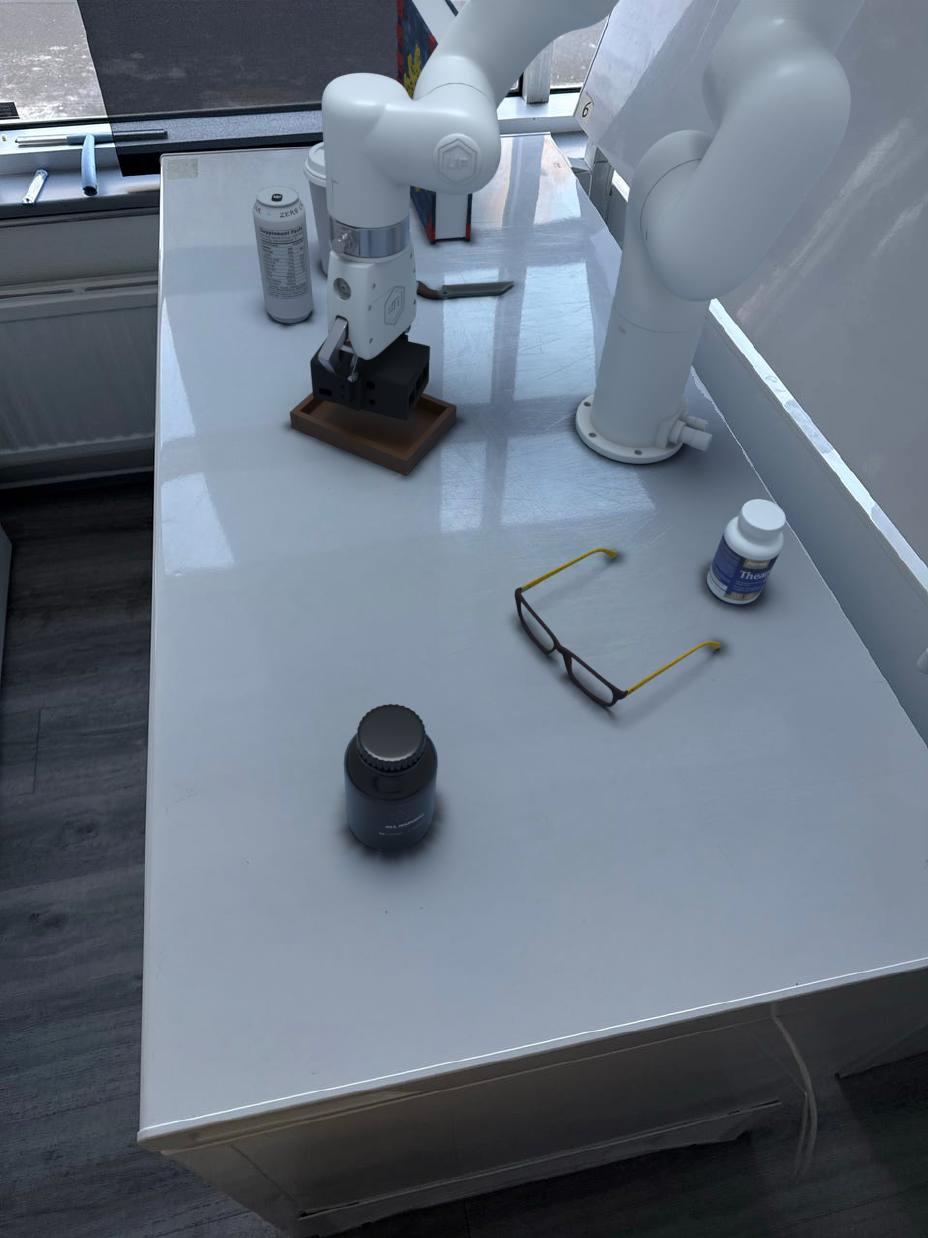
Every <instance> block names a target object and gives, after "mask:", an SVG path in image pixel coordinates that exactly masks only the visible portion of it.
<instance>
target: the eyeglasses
mask: <svg viewBox="0 0 928 1238" xmlns="http://www.w3.org/2000/svg"><path fill="white" fill-rule="evenodd" d="M597 553H604V554H606V555H607V556H609V557H610V558H612V559H613V558H615V557H617V555H618V553H617V551H614V550H612V549H608V548H605V547H597V548H594V549H592V550H590V551H588V552H586V553H584V554H581V555H579V556H578V557H575V558H573V559H572V560H570V561H568V562H566V563H564V564H562V565H560V566H558V567H556V568H554V569H552V570H550V571H548V572H546V573H544V574H542V575H540V576H538V577H536V578H534V579H533V580H531V581H529V582H527V583H525V584H523V585H521V586H519V587H517V588H516V589H515V590H514V599H515V605H516V611H517V616H518V619H519V621H520V623H521V624H522V626H523V628H524V629H525V631H526V633H527V634H528V636H529V638H530V639H531V640H532V641H533V642H534V643H535V644H536V646H537V647H538V648H539V649H540V650H541V651H542V652H543V653H545V654H547V655H550V654H551V653H553V652H555V651H556V652H557V653H559V654H561V656H562V659H563V662H564V667H565V669H566V672H567V674H568V676H569V678H570V680H571V681H572V682H573V683H574V684H575V685H576V686H577V687H578V688H579V689H580V690H581V691H582V692H583V693H585V694H586V696H588V697H590V698H591V699H592V700H594V701H595V702H597V703H598V704H600V705H602V706H604V707H606V708H611V707H613V706H615V705H616V704H617V702H618V701H622V700H624V699H626V697H628V696H629V695H632V693H634V692H635V691H637V690H638V689H640V688H641V687H643V686H644V685H646V684H647V683H648V682H650V681H652V680H653V679H655V678H656V677H658V676H659V675H661V674H662V673H664V672H666V671H667V670H668V669H670V668H671V667H673V666H674V665H676V664H677V663H679V662H681V661H682V660H683V659H685V658H687V657H689V656H690V655H691V654H693V653H695V652H696V651H698V650H699V649H701V648H703V647H706V646H710V647H711V648H713V649H715V650H717V649H719V648H721V646H722V643H721V642H719V641H713V640H706V641H704V642H701V643H700V644H698V645H696V646H694V647H693V648H691V649H689V650H687V651H686V652H685V653H683V654H681V655H680V656H678V657H677V658H675V659H673V660H672V661H671V662H669V663H667V664H666V665H664V666H662V667H660V668H659V669H658V670H656V671H654V672H653V673H651V674H649V675H648V676H646V677H644V678H643V679H641V680H640V681H638V682H637V683H635V684H634V685H632V686H631V687H629V688H627V689H626V690H622V689H620V688H618V687H617V686H616V685H614V684H613V683H611V682H610V681H609V680H607V679H606V678H604V677H603V676H602V675H600V673H598V672H597V671H596V670H595V669H593V668H592V667H591V666H590V665H589V664H588V663H587V662H586V661H584V660H583V659H581V658H580V657H579V656H578V655H577V654H575V653H574V652H573V651H571V650H570V649H568V648H566V647H565V646H563V645H562V644H561V643H560V640H558V638H557V636H556V635H555V634H554V633H553V632H552V630H551V628H549V626H548V625H547V624H546V623H545V622H544V621H543V620H542V619H541V618H540V616H539V615H538V614H537V613H536V611H535V610H534V609H533V608H532V607H531V605H530V604H529V603H528V602H527V600H526V599H525V597H524V596H523V593H524V592H526V591H528V590H530V589H531V588H534V587H535V586H537V585H539V584H541V583H542V582H543V581H546V580H547V579H549V578H551V577H553V576H555V575H557V574H558V573H560V572H562V571H563V570H565V569H567V568H569V567H570V566H573V565H574V564H577V563H578V562H580V561H581V560H584V559H586V558H588V557H590V556H591V555H593V554H597ZM522 605H523V606H524V607H525V608H526V610H527V611H528V612H529V613H530V614H531V616H532V618H534V619H535V620H536V621H537V622H538V624H539V625H540V627H542V629H543V630H544V631H545V632H546V633H547V635H548V636H549V637H550V639H551V640H552V644H553V646H552V648H551V649H548V648H547V647H546V646H544V644H542V643H541V642H540V641H539V640H538V639H537V638H536V636H535V635H534V634H533V632H532V631H531V629H530V627H529V625H528V624H527V622H526V620H525V618H524V614H523V611H522ZM573 660H575V661H576V662H577V663H578V664H580V666H582V668H585V670H587V671H588V672H589V673H590V674H591V675H593V676H594V677H595V678H596V679H597V680H599V681H600V682H601V683H602V684H603V685H605V686H606V687H607V688H608V689H609V690H610V692H611V694H612V699H611V702H608V701H606V700H604V699H601V698H600V697H598V696H596V695H595V694H593V693H592V691H590V690H589V689H587V688H586V687H585V686H584V685H583V684H582V683H581V682H580V681H579V680H578V679H577V677H576V676H575V675H574V672H573Z"/></svg>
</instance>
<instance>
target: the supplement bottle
mask: <svg viewBox="0 0 928 1238" xmlns="http://www.w3.org/2000/svg"><path fill="white" fill-rule="evenodd" d="M438 766H439V759H438V752H437V749H436V746H435V744H434V742H433V740H432V738H431V737H430V736H429V735H428V733H427V731H426V725H425V724H424V722H423V719H421V718H420V715H419V714H417V713H416V711H414V710H412V709H411V708H410V707H406V706H405V705H399V704H393V703H389V704H382V705H379V706H378V705H377V706H376V707H374V708H371V709H370V711H367V712H366V713H365V715H364V716H363V717H362V718H361V720H360V721H359V723H358V726H357V728H356V733H355V734H354V735H353V736H352V737H351V738H350V740H349V742H348V744H347V745H346V748H345V751H344V755H343V776H344V777H343V778H344V792H345V810H346V817H347V821H348V824H349V827H350V829H351V831H352V833H353V834H354V835H355V837H356V838H357V839H358V840H359V841H361V842H362V843H363V844H365V845H366V846H368V847H370V848H373V849H375V850H379V851H387V852H391V851H393V852H394V851H399V850H403V849H406V848H408V847H411V846H413V845H414V844H416V843H417V842H419V840H421V839H422V838H423V837H424V836H425V834H426V833H427V832H428V830H429V828H430V826H431V824H432V822H433V821H432V820H433V816H434V809H435V801H436V800H435V799H436V788H437V778H438V768H439V767H438Z"/></svg>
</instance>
